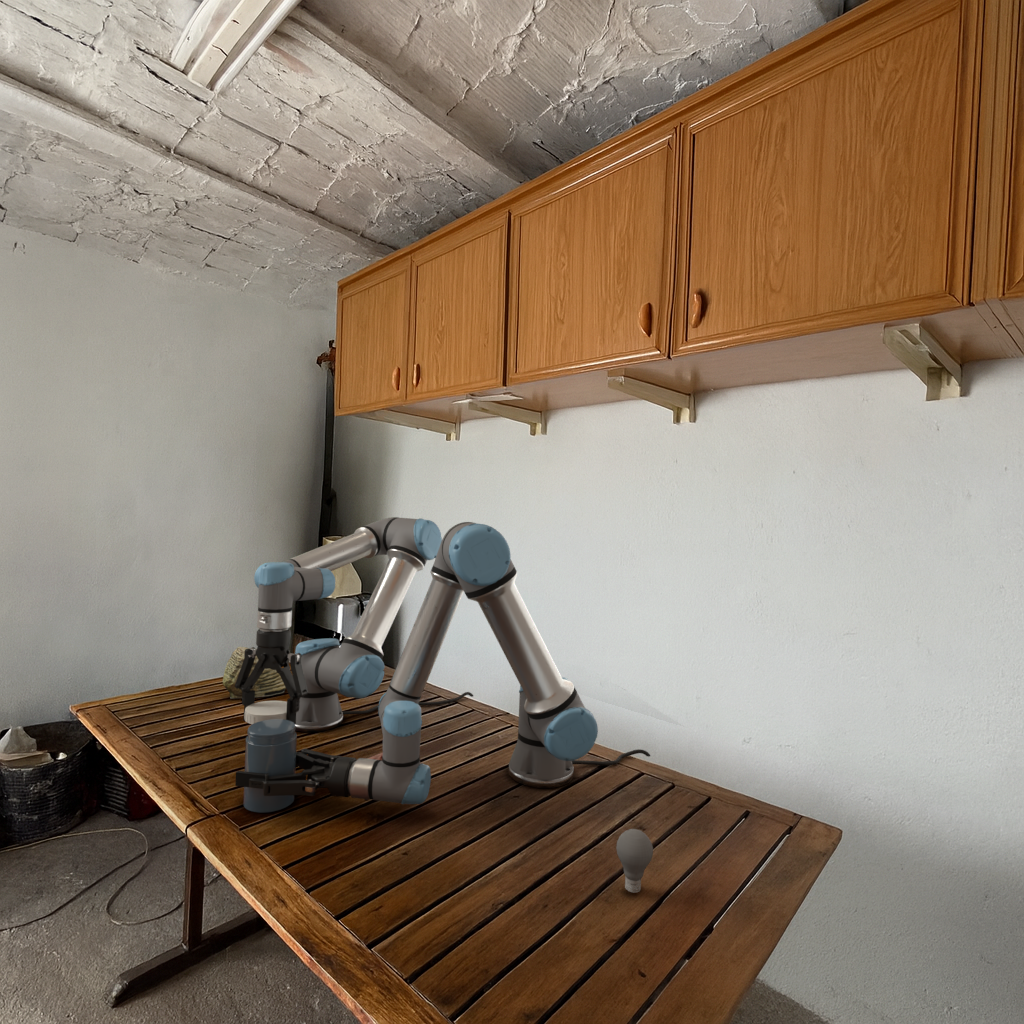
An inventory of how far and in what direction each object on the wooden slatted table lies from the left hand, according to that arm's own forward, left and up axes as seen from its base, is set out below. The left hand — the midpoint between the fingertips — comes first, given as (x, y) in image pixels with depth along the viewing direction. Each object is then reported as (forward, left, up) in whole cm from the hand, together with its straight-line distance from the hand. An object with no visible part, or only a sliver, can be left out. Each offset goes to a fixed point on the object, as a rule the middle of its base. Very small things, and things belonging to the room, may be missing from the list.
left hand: (269, 722), depth 148 cm
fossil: (-24, -49, -10) cm, 56 cm away
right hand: (+11, +13, -3) cm, 17 cm away
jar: (+9, +16, -10) cm, 21 cm away
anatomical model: (-14, +20, -10) cm, 27 cm away
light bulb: (-15, +87, -10) cm, 89 cm away
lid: (0, 0, +3) cm, 3 cm away
